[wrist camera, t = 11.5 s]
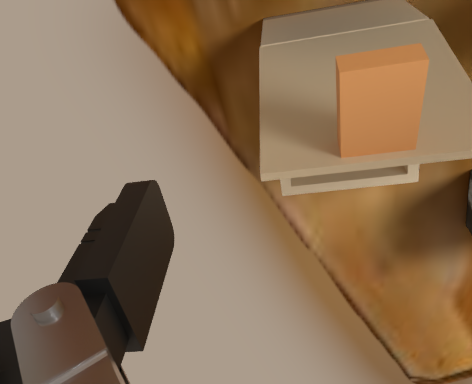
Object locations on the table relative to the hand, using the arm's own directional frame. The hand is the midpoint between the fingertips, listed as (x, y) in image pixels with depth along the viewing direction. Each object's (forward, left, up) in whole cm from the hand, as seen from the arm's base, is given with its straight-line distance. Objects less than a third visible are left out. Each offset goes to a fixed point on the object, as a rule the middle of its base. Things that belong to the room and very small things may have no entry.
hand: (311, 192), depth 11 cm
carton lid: (-4, +5, -19) cm, 20 cm away
